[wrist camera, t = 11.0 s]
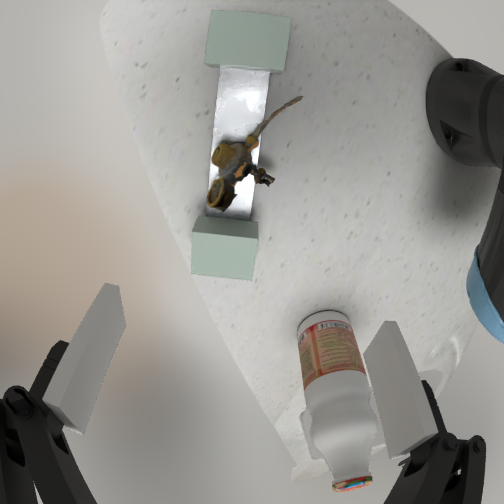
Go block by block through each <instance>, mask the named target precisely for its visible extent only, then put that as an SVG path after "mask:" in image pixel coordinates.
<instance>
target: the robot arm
mask: <svg viewBox="0 0 504 504" xmlns="http://www.w3.org/2000/svg"><path fill="white" fill-rule="evenodd" d="M426 108H427V116H428V121H429V125H430V128H431V131H432V133H433V135H434V137H435V139H436V141H437V143H438V144H439V146H440V147H441V148H442V149H443V151H444V152H445V153H447V154H448V155H449V156H450V157H452V158H454V159H456V160H458V161H460V162H461V163H464V164H466V165H470V166H490V167H498V168H500V169H502V171H501V176H500V180H499V184H498V187H497V191H496V195H495V198H494V202H493V205H492V209H491V212H490V215H489V219H488V222H487V225H486V228H485V230H484V233H483V236H482V238H481V241H480V244H479V245H478V246H477V247H476V249H475V252H474V259H473V262H472V264H471V267H470V270H469V272H468V275H467V281H466V289H467V294H468V297H469V299H470V304H471V307H472V309H473V311H474V313H475V314H476V316H477V318H478V319H479V321H480V322H481V324H482V325H483V326H484V327H485V328H486V330H487V331H488V332H489V333H490V334H491V335H492V336H493V337H495V338H496V339H497V340H499V341H500V342H502V343H504V75H501V74H499V73H497V72H496V71H494V70H492V69H490V68H489V67H487V66H485V65H483V64H481V63H479V62H477V61H474V60H470V59H463V58H458V59H457V58H455V59H449V60H446V61H444V62H443V63H441V64H440V65H439V66H438V67H437V68H436V69H435V71H434V72H433V74H432V76H431V78H430V81H429V84H428V89H427V96H426ZM125 327H126V323H125V317H124V312H123V307H122V301H121V296H120V290H119V286H117V285H113V284H108V283H105V284H104V285H103V287H102V288H101V290H100V292H99V293H98V295H97V297H96V298H95V300H94V301H93V303H92V305H91V306H90V308H89V310H88V311H87V313H86V315H85V317H84V318H83V320H82V322H81V324H80V325H79V327H78V329H77V331H76V333H75V334H74V336H73V338H72V340H71V342H70V343H67V342H64V341H61V340H60V341H59V342H57V343H56V344H55V345H54V346H53V347H52V348H51V350H50V352H49V353H48V355H47V359H45V361H44V363H43V366H42V367H41V368H40V370H39V373H38V374H37V376H36V378H35V381H34V382H33V385H32V387H31V389H30V391H29V392H28V391H27V390H26V389H25V388H24V387H21V386H12V387H10V388H8V390H7V391H6V392H5V394H4V397H3V399H0V504H38V501H37V496H36V492H35V487H34V483H35V486H36V488H37V490H38V493H39V495H40V498H41V500H42V502H43V504H97V503H96V501H95V499H94V497H93V495H92V494H91V492H90V490H89V488H88V486H87V484H86V482H85V480H84V478H83V476H82V474H81V472H80V470H79V468H78V466H77V464H76V462H75V459H74V457H73V455H72V453H71V450H70V448H69V445H68V443H67V440H66V438H65V435H64V433H63V431H62V428H63V426H64V425H65V426H66V427H67V428H68V429H69V430H72V431H74V432H77V433H79V434H81V435H84V434H85V431H86V428H87V425H88V422H89V419H90V416H91V413H92V410H93V407H94V404H95V402H96V399H97V396H98V393H99V391H100V388H101V385H102V383H103V380H104V377H105V375H106V372H107V370H108V367H109V365H110V362H111V360H112V357H113V355H114V353H115V350H116V348H117V345H118V343H119V340H120V338H121V336H122V333H123V331H124V329H125ZM363 356H364V359H365V363H366V366H367V370H368V373H369V377H370V380H371V384H372V388H373V391H374V395H375V399H376V403H377V407H378V411H379V414H380V419H381V423H382V427H383V432H384V436H385V441H386V445H387V450H388V455H389V459H394V458H399V457H402V456H404V455H406V454H407V453H409V452H410V455H411V456H410V457H408V458H407V459H405V460H403V461H401V462H400V463H399V465H398V466H400V465H402V464H404V463H405V465H404V466H403V467H402V468H403V469H402V471H401V473H400V475H399V477H398V479H397V481H396V483H395V485H394V486H393V489H392V490H391V492H390V494H389V496H388V497H387V499H386V500H385V502H384V504H481V500H482V492H483V485H484V475H485V461H486V443H485V441H484V439H483V438H482V437H481V436H479V435H475V436H473V437H472V438H471V439H469V440H460V439H457V438H456V436H454V435H453V434H452V433H448V432H447V430H446V428H445V425H444V422H443V419H442V416H441V413H440V410H439V407H438V406H437V402H436V399H435V398H434V397H435V396H434V393H433V391H432V388H431V387H430V386H429V384H428V383H427V381H426V380H422V381H421V380H420V377H419V375H418V372H417V370H416V367H415V365H414V362H413V360H412V357H411V355H410V352H409V350H408V348H407V345H406V343H405V340H404V338H403V336H402V334H401V331H400V329H399V327H398V325H397V322H396V321H384V322H383V324H382V326H381V327H380V329H379V331H378V332H377V334H376V335H375V337H374V338H373V340H372V342H371V343H370V345H369V346H368V348H367V349H366V351H365V352H364V354H363ZM460 469H461V474H459V475H458V470H460ZM33 481H34V482H33Z"/></svg>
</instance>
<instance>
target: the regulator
mask: <svg viewBox="0 0 504 504" xmlns="http://www.w3.org/2000/svg"><path fill="white" fill-rule="evenodd" d="M302 97H303V96H299V97H297V98H295V99H293V100H291V101H290V102H288V103H286V104H285V105H284V106H283V107H281V108H280V109H278V110H276V111H275V112H273V113H272V114H271V117H270V118H269V119H268V120H266V121H263V122H262V123H261V124H260V125H259V127H258V128H257V129H256V130H255V132H254V133H253V135H252V136H248V137H247V139H246V140H245V141H246V143H245V145H242V144H240V143H235V144H233V145H231V146H230V145H227V144H220V145H218V146H217V147H216V149H215V150H214V152H213V154H212V157H211V162H212V164H213V165H215V166H217V167H219V169H218V171H219V175H220V176H221V178H218V179H216V180H215V181H214V182H213V184H212V185H211V187H210V189H209V192H208V195H207V205H208V206H209V207H211V208H215V209H218V210H220V211H222V212H224V211H225V210H226V209H227V208H228V207H229V206H230V205H231V204H232V201H233V199H234V198H235V197H236V196H237V195H238V194H235V185H236V184H237V182H239V181H240V182H242V180H243V179H244V178H245V177H247V176H248V174H251V175H253V176H254V181H255V182H256V184H257V183H259V184H263V183H265V184H266V185H267V186H268V187H269V185H270V184H271V183H273V182H274V180H275V178H273V177H271V176H270V175H268V174H266V171H265V170H264V169H263V168H259V169H258V170H257V169H254V168H253V167H252V166H251V163H252V155H251V151H252V150H253V149H255V148H257V147H258V145H259V140H258V137H259V136H260V134H261V132H262V131H263V130H264V128H265V127H266V126H267V124H268V123H269V121H270V120H271V119H272V118H273V117H274V116H275V115H277V114H278V113H280V112H282V110H283V109H285V108H286V107H288V106H291V105H292V104H294V103H296V102H298V101H299V100H301V99H302ZM214 184H217V187H216V188H214V187H213V185H214Z"/></svg>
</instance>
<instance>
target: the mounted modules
mask: <svg viewBox="0 0 504 504" xmlns="http://www.w3.org/2000/svg"><path fill="white" fill-rule="evenodd" d="M291 21H292V18H291V17H285V16H278V15H271V14H263V13H254V12H242V11H226V10H212V12H211V18H210V24H209V30H208V37H207V44H206V51H205V59H204V64H206V65H208V66H210V67H219V68H234V69H245V70H254V71H262V72H270V73H277V74H281V73H282V72H283V71H284V68H285V61H286V55H287V48H288V41H289V34H290V27H291ZM257 245H258V222H252V221H244V220H235V219H225V218H216V217H206V216H198V218H197V220H196V223H195V225H194V228H193V230H192V248H191V274H196V275H204V276H213V277H222V278H231V279H240V280H250V281H252V277H253V271H254V264H255V258H256V252H257Z"/></svg>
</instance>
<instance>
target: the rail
mask: <svg viewBox="0 0 504 504" xmlns="http://www.w3.org/2000/svg"><path fill="white" fill-rule="evenodd" d="M269 77H270V72H262V71H254V70H245V69H234V68H220V75H219V83H218V91H217V100H216V109H215V119H214V129H213V140H212V151H211V157H212V154H213V152H214V150H215V149H216V147H217V146H218V145H220V144H227V145H230V146H231V145H233V144H235V143H240V144H242V145H245V143H246V141H245V140H246V139H247V137H248V136H252V135H253V133H254V132H255V130H256V129H257V128H258V127H259V125H260V124H261V123H262V122H263V119H264V112H265V105H266V98H267V91H268V84H269ZM261 134H262V132H261ZM261 134H260V136H259V137H258V140H259V145H258V147H257V148H255V149H253V150H252V151H251V155H252V163H251V166H252V167H253V168H254V169H257V162H258V155H259V148H260V141H261ZM218 169H219V167H217V166H215V165H213V164H212V162H211V163H210V176H209V189H210V187H211V185H212V184H213V182H214V181H215V180H216V179H218V178H221V176H220V175H219V171H218ZM254 184H255V181H254V176H253V175H251V174H248V176H247V177H245V178H244V179H243V180H242V182H240V181H239V182H237V184H236V185H235V194H238V195H237V196H236V197H235V198H234V199H233V201H232V204H231V205H230V206H229V207H228V208H227V209H226V210H225V211H224V212H222V211H220V210H218V209H215V208H211V207H209V206H208V205H207V217H216V218H225V219H235V220H244V221H250V214H251V206H252V199H253V192H254ZM213 187H214V188H216V187H217V184H214V185H213ZM209 189H208V192H209Z"/></svg>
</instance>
